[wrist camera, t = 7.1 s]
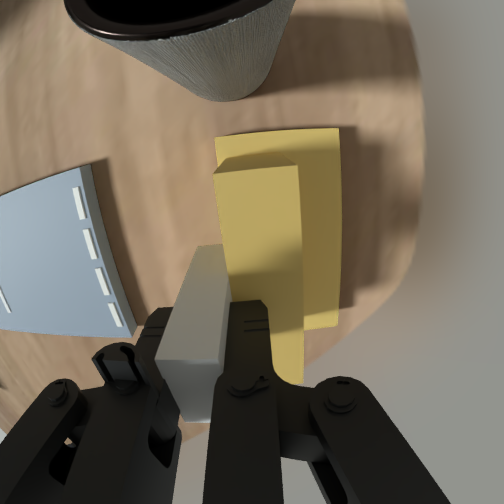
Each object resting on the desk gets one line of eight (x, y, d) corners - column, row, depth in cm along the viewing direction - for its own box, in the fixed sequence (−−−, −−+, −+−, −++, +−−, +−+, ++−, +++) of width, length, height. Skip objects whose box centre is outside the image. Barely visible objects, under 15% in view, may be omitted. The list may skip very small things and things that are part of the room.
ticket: (-37, 213, 14) (-47, 219, 13) (90, 163, 13) (78, 167, 12) (4, 321, 18) (-3, 329, 17) (137, 326, 18) (131, 338, 17)
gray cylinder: (190, 112, 13) (67, 87, 3) (171, 36, 11) (63, -66, 1) (280, 92, 12) (351, 12, 3) (259, 15, 10) (275, -126, 1)
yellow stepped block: (217, 137, 13) (194, 141, 7) (331, 128, 13) (385, 129, 7) (243, 323, 17) (242, 401, 12) (332, 313, 17) (360, 386, 12)
